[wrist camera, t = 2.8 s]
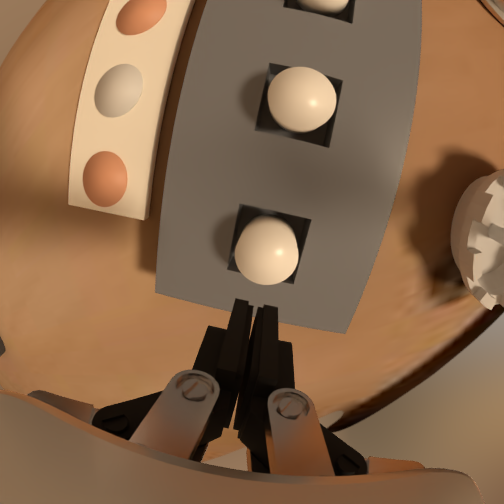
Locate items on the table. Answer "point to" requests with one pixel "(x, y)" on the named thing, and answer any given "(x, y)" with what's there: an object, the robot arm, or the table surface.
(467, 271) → the flag stand
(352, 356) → the table surface
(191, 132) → the button panel
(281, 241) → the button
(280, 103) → the middle button
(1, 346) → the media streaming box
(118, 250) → the table surface
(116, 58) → the pattern card
